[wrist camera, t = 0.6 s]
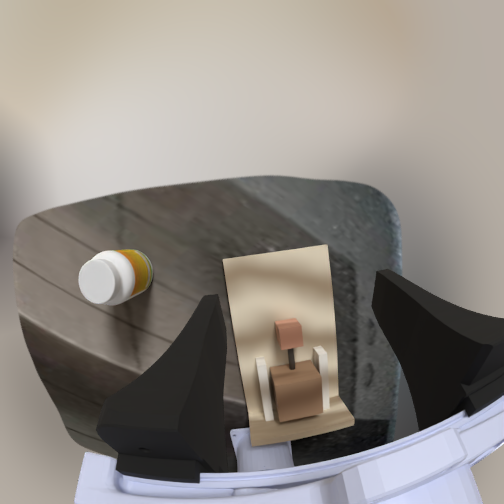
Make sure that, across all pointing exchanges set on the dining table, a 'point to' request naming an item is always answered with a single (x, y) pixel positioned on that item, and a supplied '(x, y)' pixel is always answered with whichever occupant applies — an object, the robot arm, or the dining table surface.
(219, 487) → the robot arm
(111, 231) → the dining table surface
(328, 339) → the shelf lane
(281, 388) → the walnut block
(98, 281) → the supplement bottle
